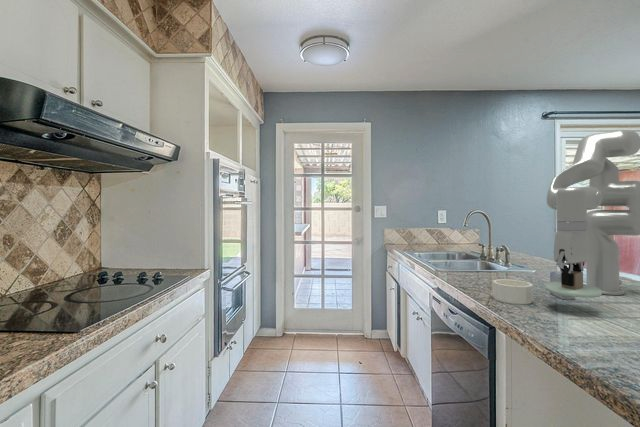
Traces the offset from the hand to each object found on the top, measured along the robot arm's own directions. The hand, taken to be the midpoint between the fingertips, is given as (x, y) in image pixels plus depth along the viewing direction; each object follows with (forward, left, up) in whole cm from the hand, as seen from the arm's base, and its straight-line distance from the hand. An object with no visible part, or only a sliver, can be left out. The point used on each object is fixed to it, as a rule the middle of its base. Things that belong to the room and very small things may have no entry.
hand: (572, 283), depth 100 cm
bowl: (+6, -16, -8) cm, 19 cm away
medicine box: (-14, -11, -9) cm, 20 cm away
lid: (0, 0, -2) cm, 2 cm away
